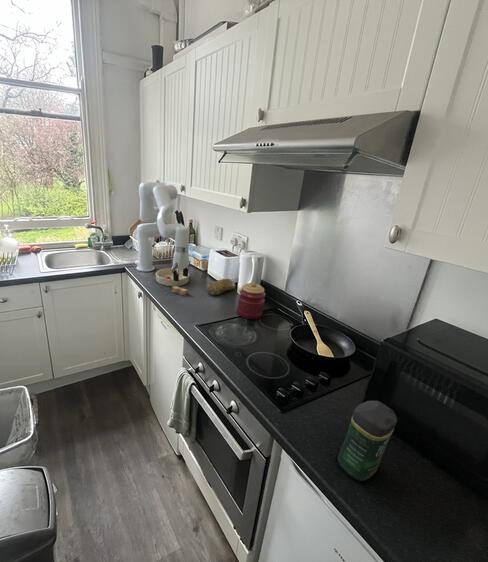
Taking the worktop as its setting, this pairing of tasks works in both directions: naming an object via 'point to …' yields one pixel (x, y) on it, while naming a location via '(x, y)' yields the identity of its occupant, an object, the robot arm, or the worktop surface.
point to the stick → (180, 290)
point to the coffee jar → (366, 439)
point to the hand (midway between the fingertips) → (180, 278)
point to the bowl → (167, 272)
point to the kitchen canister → (251, 301)
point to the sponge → (220, 286)
